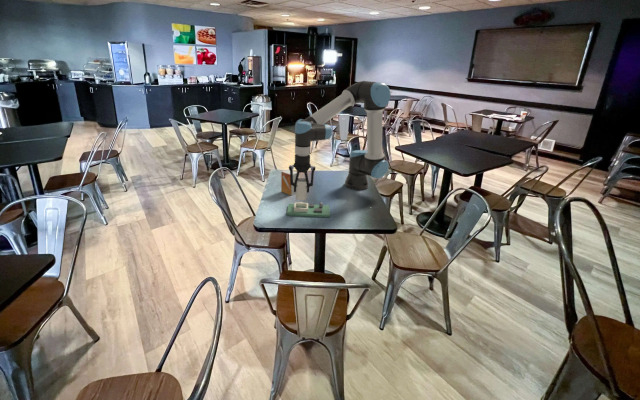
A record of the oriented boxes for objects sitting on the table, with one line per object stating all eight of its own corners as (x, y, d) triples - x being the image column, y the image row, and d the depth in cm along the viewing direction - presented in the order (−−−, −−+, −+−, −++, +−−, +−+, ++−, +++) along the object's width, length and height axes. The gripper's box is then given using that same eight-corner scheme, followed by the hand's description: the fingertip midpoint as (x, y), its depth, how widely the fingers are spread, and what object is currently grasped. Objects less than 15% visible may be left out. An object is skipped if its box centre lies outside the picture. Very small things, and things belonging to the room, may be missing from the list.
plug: (305, 196, 168) (305, 178, 164) (305, 200, 164) (305, 181, 160) (297, 196, 168) (298, 178, 164) (297, 199, 164) (297, 180, 160)
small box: (281, 192, 192) (281, 171, 186) (288, 189, 196) (288, 169, 191) (291, 195, 187) (291, 174, 182) (298, 192, 192) (298, 172, 187)
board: (329, 207, 175) (329, 201, 174) (329, 217, 164) (330, 210, 163) (288, 205, 174) (288, 199, 173) (286, 215, 163) (286, 209, 162)
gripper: (319, 152, 160) (317, 195, 170) (285, 151, 160) (285, 194, 169) (319, 157, 153) (317, 201, 163) (284, 155, 153) (284, 200, 162)
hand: (301, 197), depth 166 cm, fingers closed on plug, 4 cm apart
